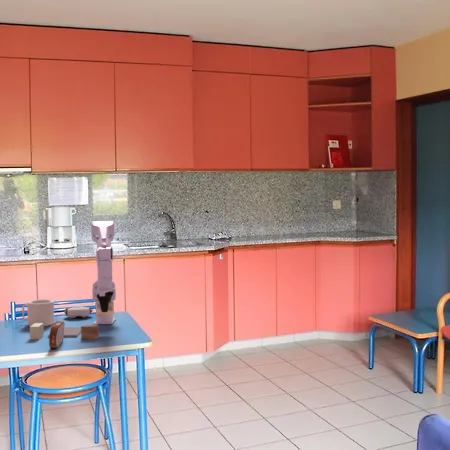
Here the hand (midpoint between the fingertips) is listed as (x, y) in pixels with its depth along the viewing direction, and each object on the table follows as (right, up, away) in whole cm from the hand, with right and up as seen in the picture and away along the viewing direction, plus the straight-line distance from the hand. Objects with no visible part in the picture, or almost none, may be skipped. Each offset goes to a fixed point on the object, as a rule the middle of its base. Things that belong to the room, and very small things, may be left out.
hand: (105, 310), depth 232 cm
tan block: (0, -2, 0) cm, 2 cm away
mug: (-32, -8, +16) cm, 37 cm away
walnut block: (-4, -10, -8) cm, 13 cm away
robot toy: (-19, -7, +32) cm, 38 cm away
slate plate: (-16, -9, 0) cm, 18 cm away
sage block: (-26, -10, -6) cm, 28 cm away
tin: (-14, -10, -18) cm, 25 cm away
